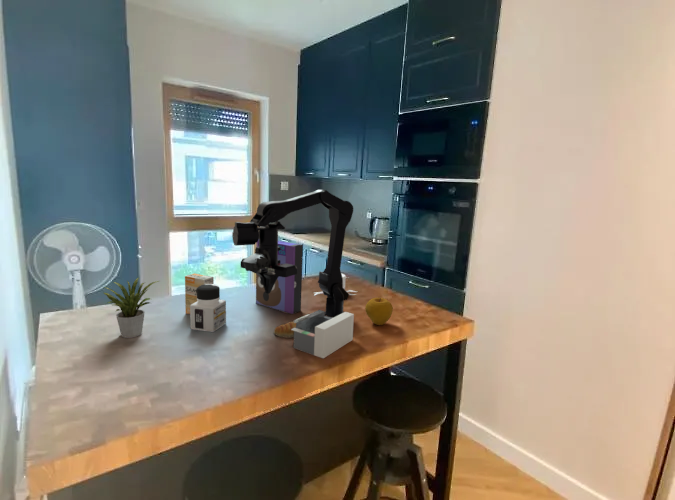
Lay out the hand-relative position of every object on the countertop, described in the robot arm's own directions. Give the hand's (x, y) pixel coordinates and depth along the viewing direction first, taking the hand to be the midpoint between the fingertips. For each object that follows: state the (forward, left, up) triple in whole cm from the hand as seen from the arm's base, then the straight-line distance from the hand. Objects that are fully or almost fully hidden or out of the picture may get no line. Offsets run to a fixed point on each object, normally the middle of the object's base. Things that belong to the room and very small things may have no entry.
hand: (267, 293), depth 116 cm
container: (+12, -13, -11) cm, 21 cm away
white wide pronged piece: (-43, -3, -11) cm, 45 cm away
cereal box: (-15, -9, -11) cm, 20 cm away
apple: (-24, +27, -11) cm, 38 cm away
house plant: (+28, -25, -11) cm, 39 cm away
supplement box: (+7, -24, -11) cm, 27 cm away
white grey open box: (0, +20, -10) cm, 23 cm away
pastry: (0, +10, -11) cm, 15 cm away
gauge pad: (+1, +17, -10) cm, 20 cm away
